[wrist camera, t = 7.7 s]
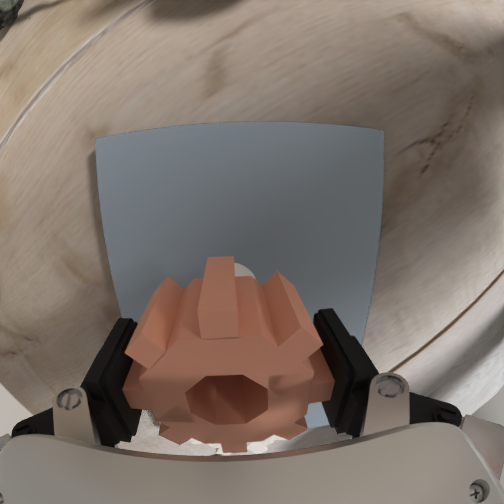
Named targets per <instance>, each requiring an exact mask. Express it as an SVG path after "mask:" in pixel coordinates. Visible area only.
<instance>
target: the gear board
mask: <svg viewBox="0 0 504 504" xmlns="http://www.w3.org/2000/svg"><path fill="white" fill-rule="evenodd" d="M95 151H96V169H97V182H98V193H99V202H100V211H101V218H102V226H103V232H104V238H105V244H106V250H107V256H108V261H109V266H110V271H111V275H112V280H113V285H114V289H115V293H116V297H117V301H118V305H119V309H120V313H121V316H122V318H132V319H133V320H134V322H137V323H139V321H140V319H141V317H142V315H143V313H144V311H145V309H146V307H147V305H148V303H149V301H150V299H151V297H152V295H153V293H154V291H155V290H156V289H157V288H158V287H159V285H160V284H161V283H162V282H163V281H164V280H165V278H166V277H167V276H169V277H170V278H171V279H173V280H174V281H175V282H176V283H177V284H179V285H180V286H181V287H183V288H184V289H185V288H186V286H187V285H188V284H189V283H190V282H191V281H192V280H193V279H194V278H204V273H205V268H206V263H207V258H208V257H225V256H234V267H235V277H237V276H252V277H253V278H254V279H255V280H256V281H258V282H259V283H260V284H261V285H263V284H264V283H265V282H266V281H267V280H268V279H269V278H270V277H271V276H272V275H273V274H274V273H275V272H276V271H278V272H279V273H280V274H282V275H283V276H284V277H285V278H286V279H287V280H288V281H290V282H291V283H292V284H293V285H294V287H295V289H296V291H297V292H298V294H299V296H300V298H301V300H302V302H303V304H304V306H305V308H306V310H307V312H308V314H309V316H310V319H311V321H312V323H313V317H314V314H315V313H318V310H319V309H327V308H333V309H334V311H335V312H336V314H337V315H338V317H339V318H340V320H341V322H342V323H343V325H344V326H345V328H346V329H347V331H348V332H349V334H350V335H353V336H355V337H356V338H357V340H358V341H359V343H360V344H361V346H362V341H363V337H364V333H365V328H366V323H367V318H368V313H369V308H370V303H371V297H372V291H373V285H374V279H375V272H376V265H377V257H378V249H379V240H380V230H381V219H382V206H383V187H384V130H378V129H371V128H363V127H355V126H345V125H335V124H323V123H307V122H279V121H247V122H219V123H203V124H191V125H180V126H171V127H163V128H155V129H148V130H141V131H135V132H128V133H123V134H117V135H112V136H107V137H102V138H97V139H95ZM305 420H306V423H307V427H308V429H309V428H315V427H321V426H326V425H329V422H328V419H327V416H326V414H325V411H324V408H323V405H322V403H321V402H317V403H311V404H309V405H308V411H307V414H306V415H305ZM159 423H160V422H159ZM160 424H161V423H160ZM251 443H252V442H247V446H248V445H250V444H251Z"/></svg>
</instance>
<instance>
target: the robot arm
mask: <svg viewBox="0 0 504 504" xmlns="http://www.w3.org/2000/svg"><path fill="white" fill-rule="evenodd" d="M137 325H138V323H137V322H134V320H133V319H132V318H119V319H118V320H117V322H116V324H115V326H114V327H113V329H112V331H111V332H110V334H109V336H108V337H107V339H106V341H105V343H104V344H103V346H102V348H101V349H100V351H99V353H98V354H97V356H96V358H95V360H94V362H93V363H92V365H91V367H90V369H89V371H88V373H87V375H86V377H85V378H84V380H83V382H82V384H81V386H80V387H79V386H74V385H72V386H66V387H63V388H62V389H60V390H59V391H58V392H57V393H56V394H55V396H54V398H53V407H52V408H50V409H48V410H46V411H43V412H41V413H39V414H36V415H34V416H32V417H29V418H27V419H25V420H22V421H21V422H19V423H17V424H16V425H15V426H14V428H13V430H12V435H11V436H10V435H9V434H6V435H4V436H2V437H0V504H504V490H503V488H502V486H501V484H500V482H499V480H500V476H501V472H502V468H503V464H504V427H503V426H502V425H500V424H496V423H493V422H489V421H486V420H483V419H479V418H476V417H473V416H470V415H467V414H466V415H465V417H462V415H461V412H460V411H459V409H458V408H457V407H455V406H454V405H452V404H450V403H446V402H443V401H439V400H435V399H432V398H428V397H425V396H421V395H418V394H415V393H411V392H409V385H408V383H407V381H406V380H405V379H404V378H403V377H402V376H400V375H398V374H395V373H381V374H379V372H378V371H377V369H376V368H375V366H374V364H373V363H372V361H371V360H370V358H369V357H368V355H367V354H366V352H365V351H364V349H363V348H362V346H361V344H360V343H359V341H358V340H357V338H356V337H355V336H353V335H350V334H349V332H348V331H347V329H346V328H345V326H344V325H343V323H342V322H341V320H340V318H339V317H338V315H337V314H336V312H335V311H334V309H333V308H327V309H319V310H318V313H315V314H314V317H313V325H314V327H315V329H316V331H317V333H318V335H319V337H320V339H321V341H322V343H323V345H322V346H321V347H320V349H321V352H322V354H323V356H324V358H325V360H326V363H327V365H328V367H329V369H330V371H331V374H332V376H333V378H334V380H335V383H334V387H333V391H332V395H331V399H330V400H328V401H323V402H321V403H322V405H323V408H324V411H325V414H326V416H327V419H328V422H329V425H330V427H331V428H333V427H335V429H336V432H337V434H339V433H344V432H346V434H348V435H351V437H350V439H349V440H345V441H340V442H336V443H331V444H326V445H321V446H316V447H310V448H304V449H298V450H291V451H284V452H275V453H265V454H254V455H237V456H186V455H169V454H157V453H147V452H139V451H132V450H125V449H119V448H118V446H117V444H118V443H120V441H124V442H131V438H132V436H135V435H136V432H137V428H138V424H139V420H140V416H141V412H142V409H132V408H131V407H130V405H129V403H128V401H127V399H126V397H125V395H124V393H123V390H122V389H123V386H124V384H125V381H126V378H127V376H128V373H129V370H130V368H131V365H132V363H133V360H134V359H133V358H131V357H130V356H128V355H127V354H125V351H126V349H127V346H128V344H129V342H130V340H131V338H132V336H133V334H134V331H135V329H136V327H137Z"/></svg>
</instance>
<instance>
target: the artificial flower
mask: <svg viewBox="0 0 504 504" xmlns="http://www.w3.org/2000/svg"><path fill="white" fill-rule="evenodd" d="M23 1H24V0H0V30H1V29H2V28H4V27H5V26H7V25H9V24H10V23H11V22H12V21H13V20H15V19H16V17H17V16H18V14H17V13H18V10H19V9H20V7H21V5H22V3H23ZM29 19H30V18H29Z"/></svg>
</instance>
